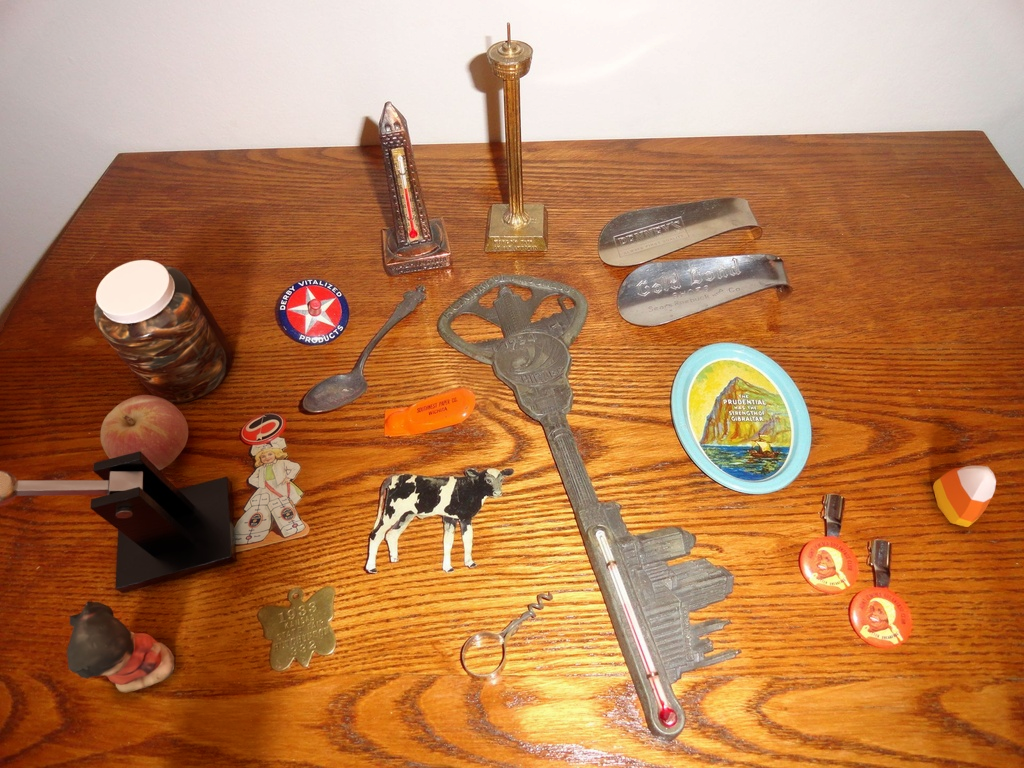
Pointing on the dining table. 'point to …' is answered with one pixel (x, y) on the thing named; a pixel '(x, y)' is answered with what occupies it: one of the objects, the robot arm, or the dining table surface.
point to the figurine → (115, 650)
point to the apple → (145, 430)
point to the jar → (162, 330)
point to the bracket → (166, 524)
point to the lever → (67, 485)
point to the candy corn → (965, 493)
